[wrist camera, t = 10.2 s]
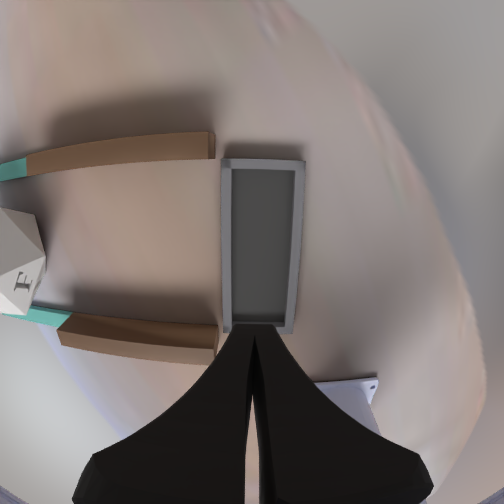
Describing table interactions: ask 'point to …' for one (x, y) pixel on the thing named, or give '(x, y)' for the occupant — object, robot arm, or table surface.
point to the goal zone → (34, 313)
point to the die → (19, 261)
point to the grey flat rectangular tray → (261, 240)
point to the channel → (119, 329)
